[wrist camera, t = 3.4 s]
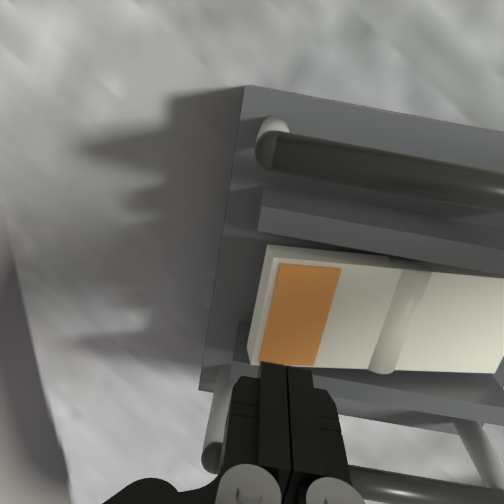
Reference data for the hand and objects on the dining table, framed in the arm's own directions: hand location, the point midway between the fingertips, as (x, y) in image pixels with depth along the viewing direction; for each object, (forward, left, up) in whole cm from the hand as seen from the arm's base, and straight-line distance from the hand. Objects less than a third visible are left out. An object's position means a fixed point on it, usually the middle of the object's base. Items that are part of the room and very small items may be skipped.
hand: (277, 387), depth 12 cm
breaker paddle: (-5, 0, -6) cm, 8 cm away
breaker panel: (-5, 0, -12) cm, 13 cm away
